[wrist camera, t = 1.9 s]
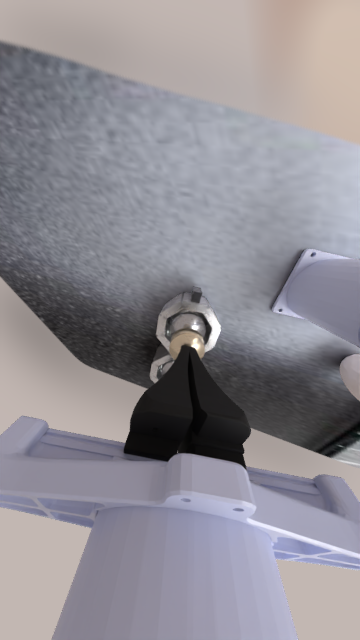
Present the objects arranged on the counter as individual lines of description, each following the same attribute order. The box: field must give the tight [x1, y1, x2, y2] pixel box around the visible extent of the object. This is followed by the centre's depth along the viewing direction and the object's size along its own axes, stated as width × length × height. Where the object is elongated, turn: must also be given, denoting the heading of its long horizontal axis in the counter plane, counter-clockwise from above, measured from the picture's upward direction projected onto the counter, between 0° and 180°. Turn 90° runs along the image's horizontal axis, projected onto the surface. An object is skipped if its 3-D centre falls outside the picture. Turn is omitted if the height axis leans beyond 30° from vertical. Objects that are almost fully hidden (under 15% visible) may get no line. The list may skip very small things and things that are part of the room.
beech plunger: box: [169, 312, 206, 360], centre depth 15 cm, size 5×5×5 cm
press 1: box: [156, 286, 221, 352], centre depth 18 cm, size 8×9×4 cm
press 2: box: [150, 344, 202, 383], centre depth 22 cm, size 8×9×4 cm
